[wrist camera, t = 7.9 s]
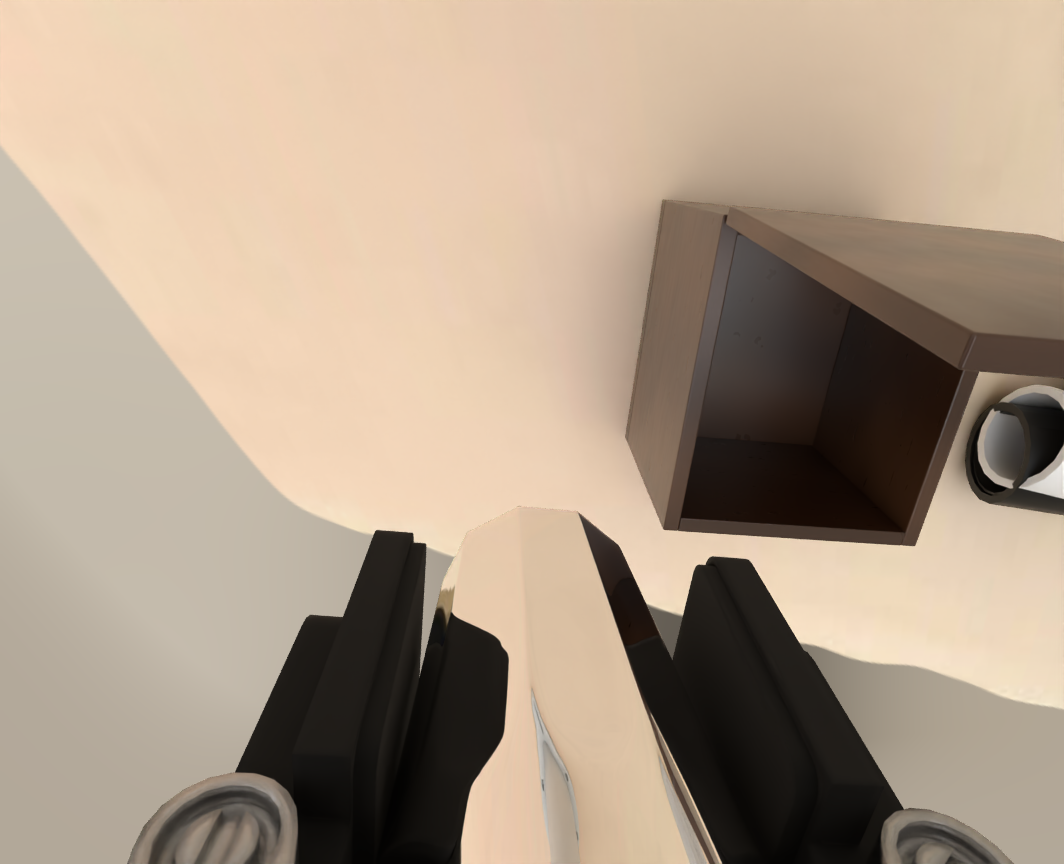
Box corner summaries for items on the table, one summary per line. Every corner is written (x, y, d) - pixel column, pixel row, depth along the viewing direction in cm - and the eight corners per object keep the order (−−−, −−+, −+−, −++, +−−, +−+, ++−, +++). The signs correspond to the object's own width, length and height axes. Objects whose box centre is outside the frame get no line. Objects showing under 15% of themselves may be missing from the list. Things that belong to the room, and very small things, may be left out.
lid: (1574, 421, 14) (1606, 387, 13) (958, 371, 13) (974, 332, 13) (1030, 253, 28) (1038, 234, 28) (724, 224, 27) (729, 205, 27)
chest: (815, 451, 46) (915, 546, 34) (625, 437, 45) (663, 530, 34) (880, 220, 40) (1026, 243, 29) (662, 199, 39) (723, 214, 28)
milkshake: (732, 487, 11) (1841, 2030, 2) (589, 706, 13) (824, 2055, 4) (490, 384, 10) (461, 2465, 1) (371, 635, 12) (-28, 2218, 3)
